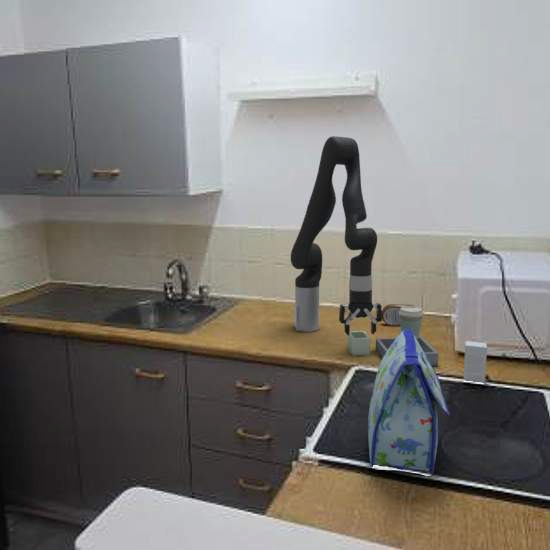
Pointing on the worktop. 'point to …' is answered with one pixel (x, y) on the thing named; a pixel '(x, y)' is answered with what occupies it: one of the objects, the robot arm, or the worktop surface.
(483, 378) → the skincare box
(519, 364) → the worktop surface
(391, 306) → the tin
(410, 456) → the lunch bag
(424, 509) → the worktop surface
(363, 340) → the small crate
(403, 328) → the coffee cup
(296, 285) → the robot arm
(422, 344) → the large crate
